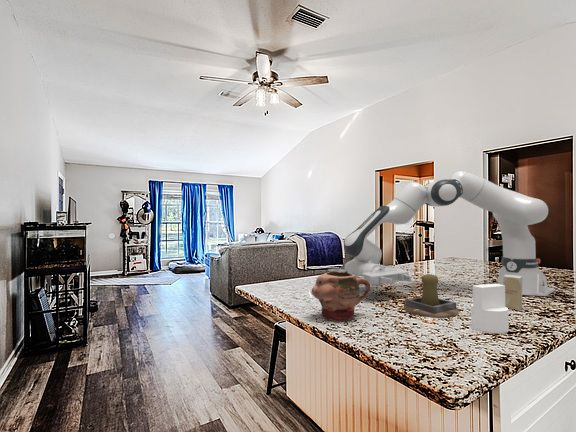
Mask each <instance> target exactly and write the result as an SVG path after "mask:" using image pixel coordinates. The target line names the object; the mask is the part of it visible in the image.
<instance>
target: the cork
mask: <svg viewBox="0 0 576 432" xmlns="http://www.w3.org/2000/svg"><path fill="white" fill-rule="evenodd" d="M421 283H422V284H423V285H422V291H421V292H422V293H421V297H422V300H421V303H423V304H427V305H431V306H437V305H440V304H439V299H440V297H439V292H438V286H437V285H439V278H438V276H437V275H435V274H429V273H428V274H427V273H425V274H424V275H422V276H421Z"/></svg>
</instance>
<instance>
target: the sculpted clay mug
mask: <svg viewBox="0 0 576 432" xmlns="http://www.w3.org/2000/svg"><path fill="white" fill-rule="evenodd" d="M360 285H363V286H364V287H365V291H364V293H363V295H361V296H360V294H361V291H360ZM370 290H371V285H370V284H369V282H368V281H367V280H366V279H364V278H356V276H355V275H353V274H351V273H345V272H336V271H332V272H328V271H327V272H325V273H323V274H320V275H319V276H318V277H317V278H316V280H315V284H314V285H313V286H312V288H311V295H312V296H313V297H314V298H316V299H317V300H318V301H319V303H320V305H321V316H322V317H323V318H325V319H326V320H329V321H332V322H347V321H351V320H352V319H354V318H353V317H354V316H355V308H356V306H357V305H358V304H360V303H362V302H363V301H364V300H365V299H366V298H367V296H368V295H369V293H370Z"/></svg>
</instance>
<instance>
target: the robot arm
mask: <svg viewBox="0 0 576 432" xmlns="http://www.w3.org/2000/svg"><path fill="white" fill-rule="evenodd" d="M459 198H461V199H463V200H464V201H467V202H469V203H471V204H472V205H474V206H476V207H477V208H480V209H482V210H484V211H488V212H490V213H492V216H493V218H494V219H495V221H496V222H497V224H498V227H499V229H500V233H501V234H500V235H501V239H502V257H501V268H499V271H498V279H497V284H501V285H503V276H504V275H515V276H522V277H523V279H522V296H539V297H548V296H549V295H550V294H552V293H553V292H555V288H554V287H549V286H548V280H547V276H546V275H545V274H544V272H542V270H540V269H539V264H541V259H540V258H537V257H536V253H537V251H536V239H535V237H534V236H533V235H532V234H531V232H530V229H529V226H530V225H531V226H532V225H535V224H538V223H542V222H543V221H545V220H546V218H547V217H548V215H549V206H548V205H547V203H546V202H545V201H543V200H542V199H539V198H535V197H531V196H528V195H525V194H522V193H519V192H517V191H515V190H511V189H508V188H506V187H502V186H500V185H497V184H496V183H494V182H492V181H490V180H488V179H486V178H484V177H481V176H479V175H477V174H475V173H472V172H468V171H464V170H459V171H455V172H454V173H453V174H452V175H451V176H450V178H449V179H440V180H434V181H432V182H429V183H427V184H425V185H422V184H421V183H420V182H415V181H413V182H412V181H411V182H409V183H407V184H406V185H405V186H404V187H403V188H402V189H401V190H400V191H399V192H398V193H397V194H396V196H395V197H394V198H393V200H391V201H390V202H389V203H388V204H387V205H381V206H380V207H378V208H377V209H375V211H373V213H371V214H370V216H368V217H367V218H366V219H365V220H364V221H363V222H362V223H361V224H360V225H359V226H358V227H357V228H356V229H355V230H354V231H352V232H351V233H349V234H348V235H347V236H346V237H345V238H344V241H343V249H344V252H345V254H347V255H349V256H350V257H352V258H353V259H351V260H348V261H346V263H345V265H344V268H343V269H346V270H348V271H347V273H351V274H353V275H355V276H356V278H364V279H366V280H367V281H368V282H369V284H370V286H375V287H379V286H382V285H385V284H389V285H392V284H394V283H398V282H404V281H406V282H411V281H412V276H411V275H409V271H408V270H405V269H401V268H398V267H393V265H387V264H381V261H382V258H383V252H382V249H381V248H380V247H379V246H378V245H376V244H375V243H373V242H372V241H371V240H369V239H368V237H369V236H370V235H371V234H372V233H373V232H374V231H375V230H376V229H377V228H378V227H379V226H380V225H381V224H385V223H388V224H393V225H405V224H407V223H409V222H410V221H412V219H413V218H414V217H415V216H416V214H417V213H418V211H419V210H420V209H421V207H423V206H424V205H426V206H430V207H446V206H450V205H452V204H454V203H455V202H456V201H457V200H458V199H459Z"/></svg>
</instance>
